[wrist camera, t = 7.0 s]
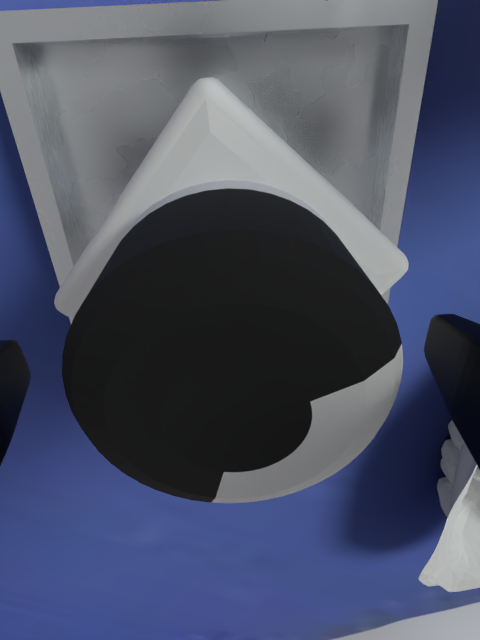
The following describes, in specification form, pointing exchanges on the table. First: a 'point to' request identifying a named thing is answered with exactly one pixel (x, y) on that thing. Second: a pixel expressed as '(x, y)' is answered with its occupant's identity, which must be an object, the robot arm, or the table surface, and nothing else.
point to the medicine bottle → (231, 315)
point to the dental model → (457, 520)
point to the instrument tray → (234, 73)
